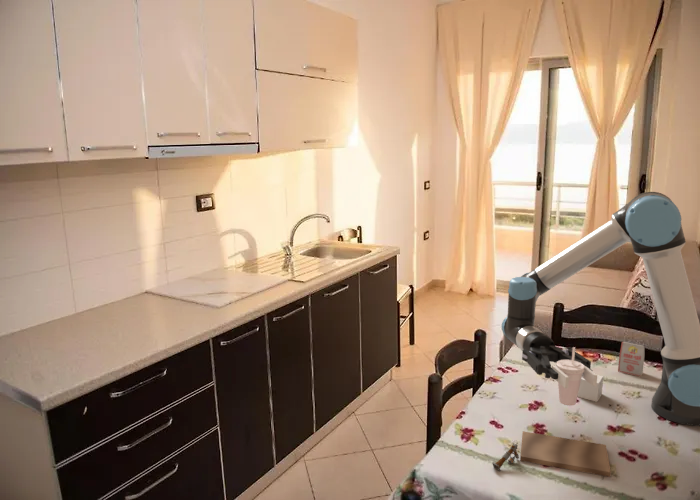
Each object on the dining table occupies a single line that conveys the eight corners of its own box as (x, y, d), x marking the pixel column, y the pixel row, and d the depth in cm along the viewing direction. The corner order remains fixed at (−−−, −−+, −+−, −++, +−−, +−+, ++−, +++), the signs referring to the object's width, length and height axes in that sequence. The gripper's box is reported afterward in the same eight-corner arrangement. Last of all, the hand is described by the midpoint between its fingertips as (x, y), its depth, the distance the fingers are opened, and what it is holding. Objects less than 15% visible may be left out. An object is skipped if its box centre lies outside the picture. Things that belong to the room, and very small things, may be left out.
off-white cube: (601, 394, 166) (603, 376, 164) (597, 402, 161) (598, 383, 160) (581, 389, 169) (582, 371, 168) (575, 396, 164) (577, 378, 163)
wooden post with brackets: (523, 456, 133) (519, 443, 131) (502, 479, 129) (497, 466, 127) (517, 453, 134) (513, 440, 132) (496, 475, 131) (491, 462, 129)
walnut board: (605, 449, 137) (605, 444, 136) (610, 476, 126) (610, 472, 125) (522, 435, 143) (522, 431, 143) (520, 460, 132) (520, 456, 132)
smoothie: (586, 408, 128) (590, 352, 125) (559, 408, 128) (563, 353, 126) (575, 395, 135) (579, 342, 132) (549, 395, 135) (553, 342, 132)
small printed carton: (620, 367, 184) (623, 339, 182) (642, 372, 180) (645, 344, 178) (617, 371, 181) (620, 343, 179) (640, 376, 177) (643, 347, 175)
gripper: (567, 355, 149) (618, 393, 127) (500, 359, 147) (540, 399, 125) (569, 329, 148) (621, 363, 125) (502, 333, 145) (542, 369, 123)
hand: (581, 381), depth 125 cm, fingers closed on smoothie, 6 cm apart
